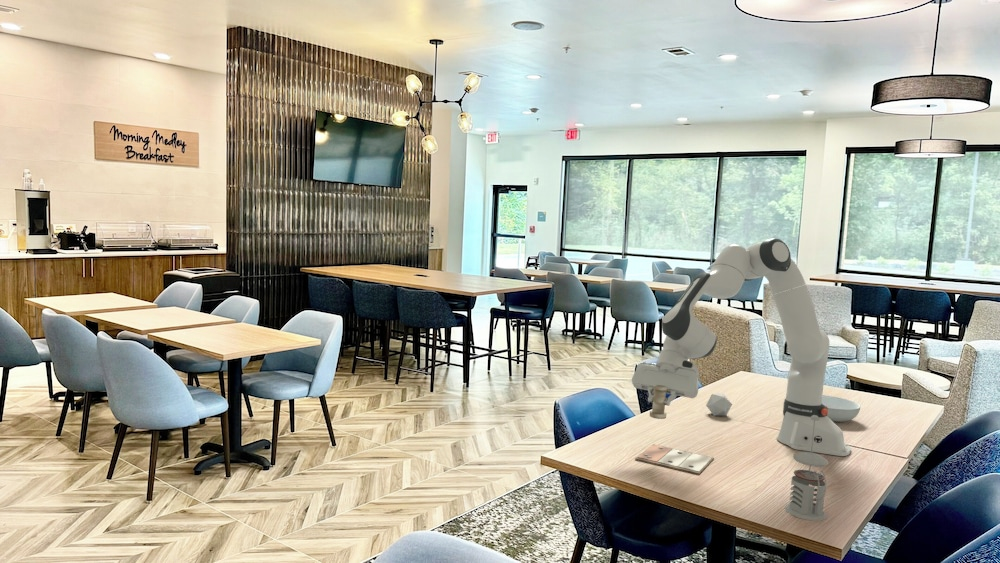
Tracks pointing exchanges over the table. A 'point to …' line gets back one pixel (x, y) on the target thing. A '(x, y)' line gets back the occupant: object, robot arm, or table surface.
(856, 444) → the table surface
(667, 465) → the game board
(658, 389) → the beige flanged column
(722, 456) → the table surface
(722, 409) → the die
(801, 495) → the french press
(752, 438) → the table surface
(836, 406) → the serving bowl
